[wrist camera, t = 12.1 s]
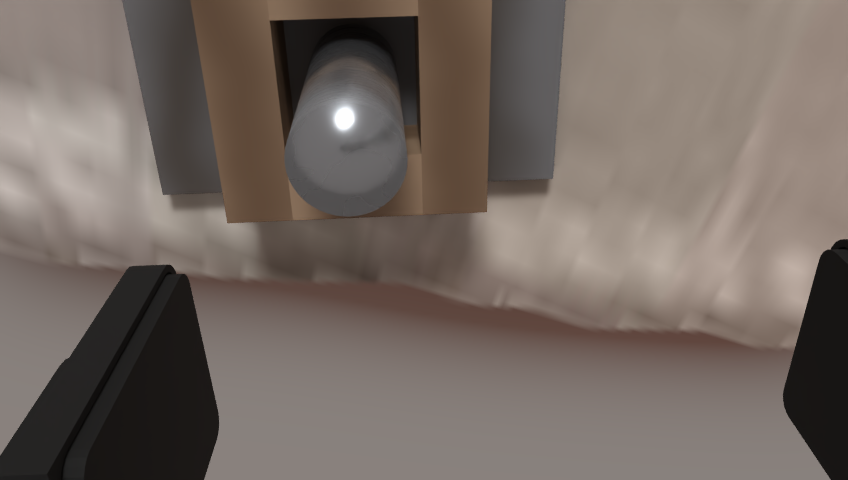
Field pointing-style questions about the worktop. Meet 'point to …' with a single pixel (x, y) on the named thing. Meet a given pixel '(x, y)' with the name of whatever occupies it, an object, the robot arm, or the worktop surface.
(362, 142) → the grey metallic cylinder
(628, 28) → the worktop surface
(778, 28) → the worktop surface
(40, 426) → the robot arm
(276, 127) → the docking mount
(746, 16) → the worktop surface
